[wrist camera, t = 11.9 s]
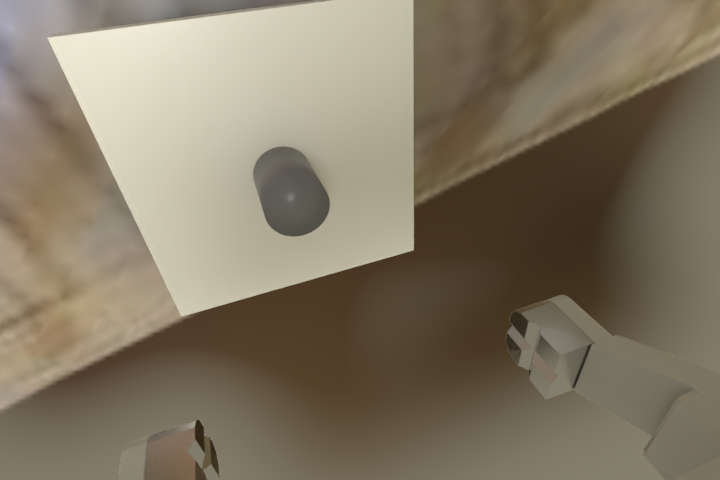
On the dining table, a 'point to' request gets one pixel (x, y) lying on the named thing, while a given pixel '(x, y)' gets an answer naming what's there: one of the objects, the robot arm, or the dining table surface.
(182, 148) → the cover board
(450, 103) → the dining table surface
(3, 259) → the dining table surface
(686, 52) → the dining table surface
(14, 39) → the dining table surface
